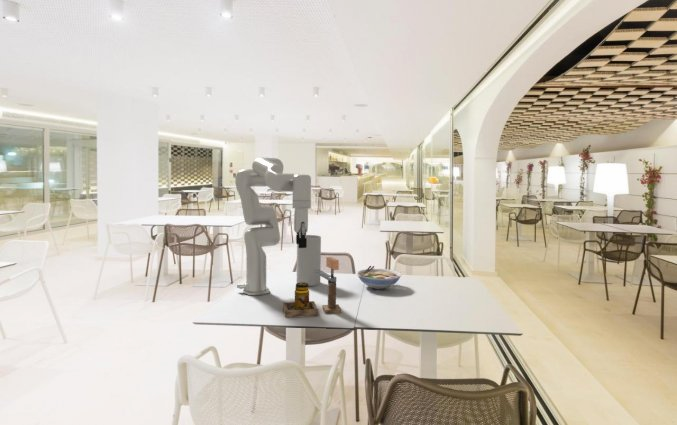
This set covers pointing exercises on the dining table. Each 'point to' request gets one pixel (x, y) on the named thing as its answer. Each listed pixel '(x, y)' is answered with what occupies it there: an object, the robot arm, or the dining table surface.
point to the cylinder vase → (309, 261)
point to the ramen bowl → (378, 277)
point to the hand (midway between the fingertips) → (301, 245)
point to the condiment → (301, 297)
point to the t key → (333, 265)
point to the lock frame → (329, 308)
